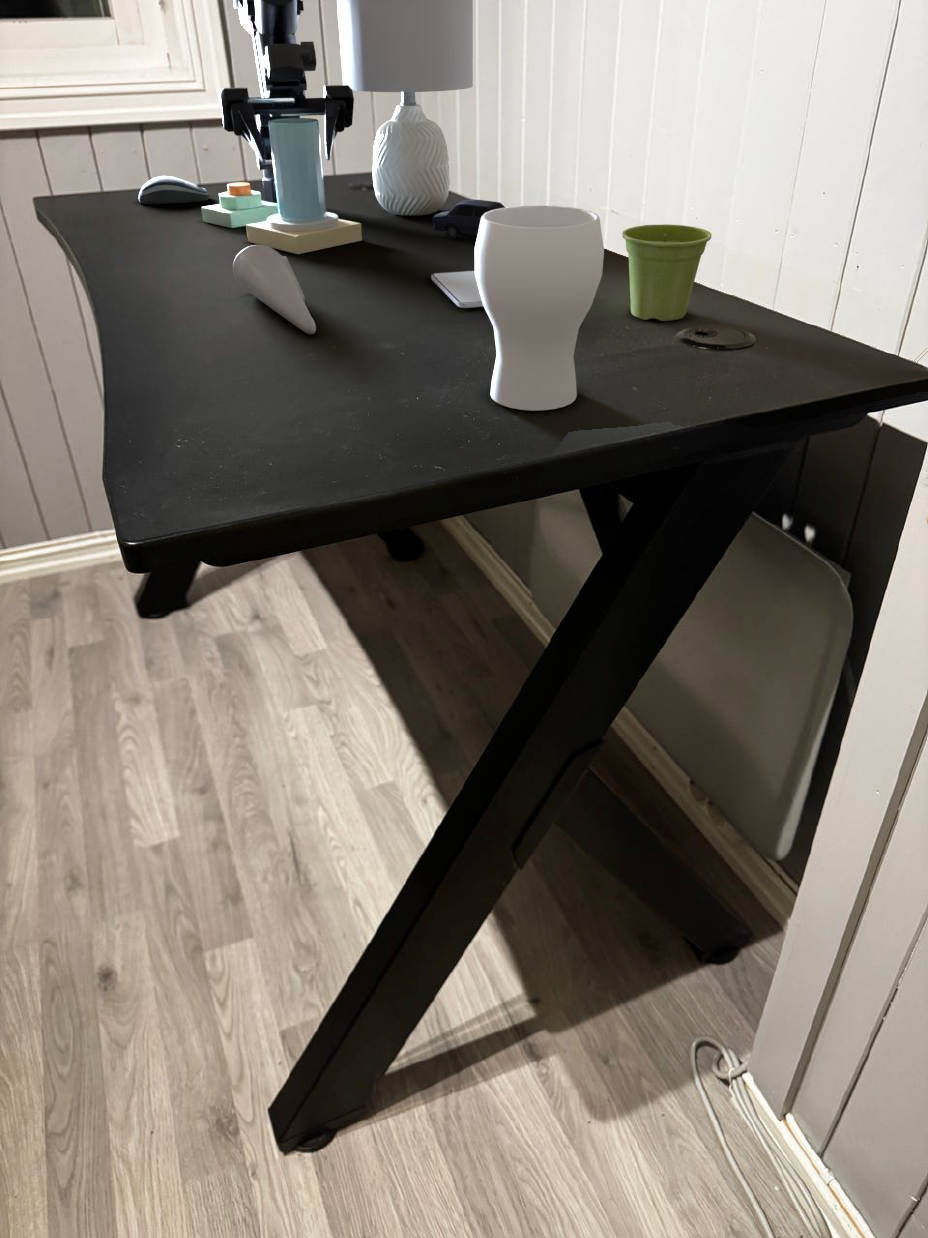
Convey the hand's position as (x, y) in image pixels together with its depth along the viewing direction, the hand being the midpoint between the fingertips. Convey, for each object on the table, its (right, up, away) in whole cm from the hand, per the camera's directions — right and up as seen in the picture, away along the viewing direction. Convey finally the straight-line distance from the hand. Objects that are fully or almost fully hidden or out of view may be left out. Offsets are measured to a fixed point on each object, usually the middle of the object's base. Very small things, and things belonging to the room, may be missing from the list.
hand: (296, 159), depth 129 cm
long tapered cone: (+3, -31, -26) cm, 41 cm away
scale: (0, -9, +5) cm, 11 cm away
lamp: (+15, +3, +23) cm, 28 cm away
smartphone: (+25, -26, -19) cm, 41 cm away
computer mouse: (-28, +10, +34) cm, 45 cm away
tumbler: (0, -7, +4) cm, 8 cm away
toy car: (+27, -9, +7) cm, 29 cm away
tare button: (-12, +3, +17) cm, 21 cm away
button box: (-12, 0, +19) cm, 22 cm away
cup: (+30, -46, -48) cm, 73 cm away
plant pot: (+46, -31, -27) cm, 62 cm away
